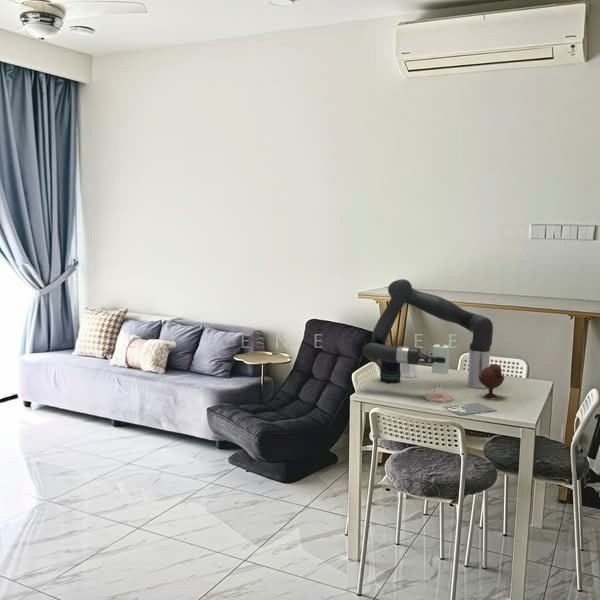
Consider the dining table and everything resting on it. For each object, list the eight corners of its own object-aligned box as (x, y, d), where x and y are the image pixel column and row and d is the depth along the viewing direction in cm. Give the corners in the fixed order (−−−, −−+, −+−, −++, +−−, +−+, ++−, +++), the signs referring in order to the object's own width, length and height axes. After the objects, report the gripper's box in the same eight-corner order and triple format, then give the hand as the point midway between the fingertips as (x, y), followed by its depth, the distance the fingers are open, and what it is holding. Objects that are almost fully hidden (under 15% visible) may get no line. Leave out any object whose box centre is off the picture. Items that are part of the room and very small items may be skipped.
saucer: (442, 393, 303) (442, 391, 303) (458, 400, 292) (458, 398, 292) (419, 396, 299) (419, 394, 298) (435, 403, 288) (435, 400, 287)
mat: (478, 403, 288) (478, 402, 288) (496, 411, 277) (496, 410, 277) (442, 407, 281) (442, 406, 281) (460, 415, 270) (460, 414, 270)
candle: (439, 394, 297) (440, 384, 297) (444, 396, 294) (444, 386, 294) (433, 395, 296) (434, 384, 295) (437, 397, 293) (438, 386, 293)
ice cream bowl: (496, 393, 305) (497, 360, 303) (507, 400, 294) (509, 366, 292) (473, 394, 303) (475, 361, 301) (484, 400, 292) (486, 366, 290)
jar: (406, 378, 332) (407, 354, 330) (395, 375, 339) (396, 351, 337) (419, 376, 337) (420, 352, 335) (408, 372, 343) (409, 349, 342)
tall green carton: (434, 370, 298) (435, 341, 296) (448, 371, 295) (449, 342, 294) (431, 373, 292) (432, 343, 290) (446, 374, 290) (447, 345, 288)
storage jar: (382, 377, 332) (383, 347, 330) (402, 379, 329) (403, 349, 327) (377, 382, 323) (378, 351, 321) (397, 384, 319) (398, 353, 318)
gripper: (404, 349, 291) (443, 353, 285) (412, 344, 304) (449, 347, 298) (404, 367, 292) (443, 370, 286) (411, 360, 305) (449, 364, 299)
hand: (446, 359), depth 292 cm, fingers closed on tall green carton, 6 cm apart
